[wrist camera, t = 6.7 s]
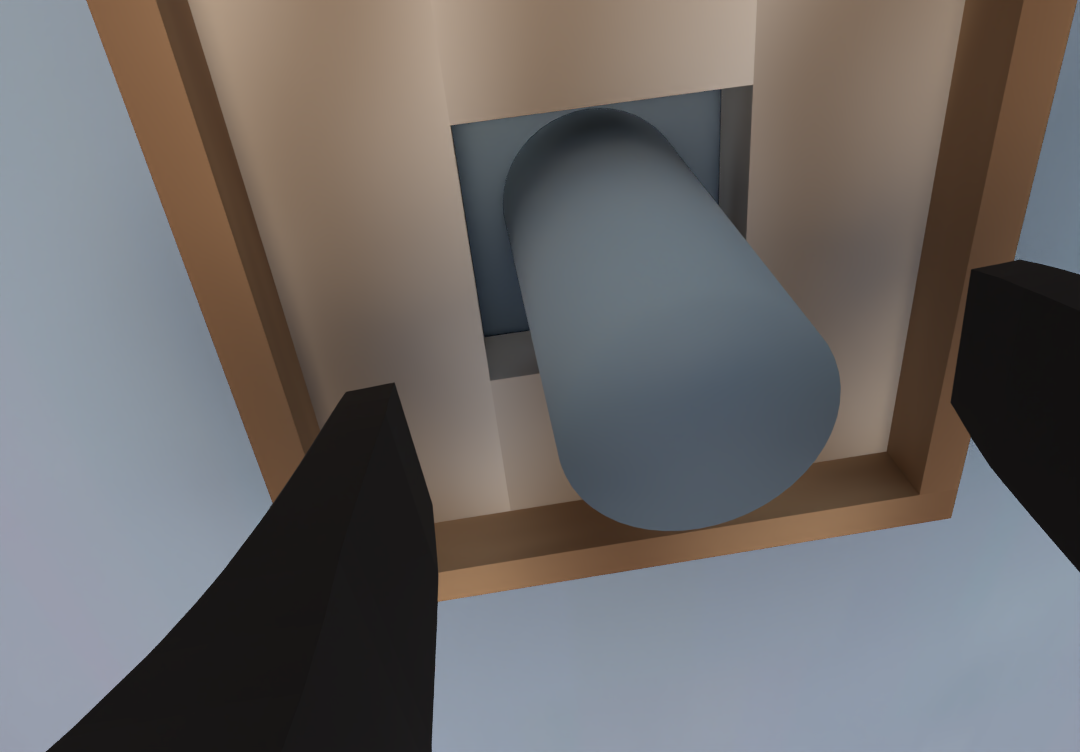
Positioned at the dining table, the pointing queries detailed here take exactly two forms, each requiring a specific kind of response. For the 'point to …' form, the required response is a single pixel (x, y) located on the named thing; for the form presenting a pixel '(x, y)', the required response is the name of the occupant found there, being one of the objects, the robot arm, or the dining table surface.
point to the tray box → (444, 249)
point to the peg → (659, 331)
